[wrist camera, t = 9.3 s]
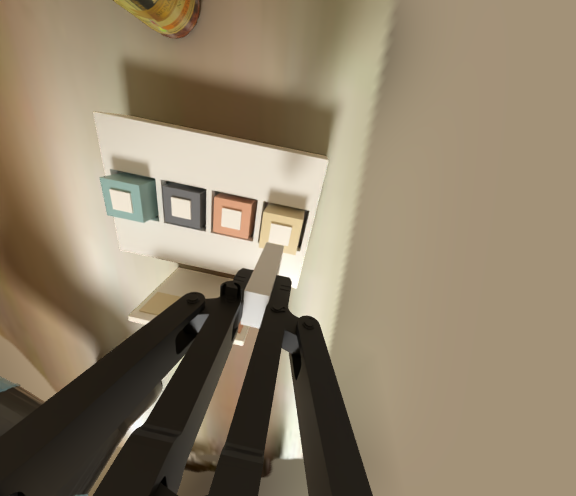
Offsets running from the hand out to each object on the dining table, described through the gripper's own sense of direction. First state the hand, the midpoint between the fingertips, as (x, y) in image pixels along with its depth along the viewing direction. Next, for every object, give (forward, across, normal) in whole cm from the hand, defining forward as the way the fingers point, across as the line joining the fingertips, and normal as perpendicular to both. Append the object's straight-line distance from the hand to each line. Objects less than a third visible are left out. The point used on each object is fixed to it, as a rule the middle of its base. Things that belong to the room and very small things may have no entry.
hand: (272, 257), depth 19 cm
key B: (+11, -6, 0) cm, 12 cm away
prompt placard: (+12, -9, -13) cm, 20 cm away
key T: (+9, 0, 0) cm, 9 cm away
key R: (+9, -18, 0) cm, 20 cm away
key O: (+11, -12, 0) cm, 16 cm away
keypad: (+12, -9, 0) cm, 15 cm away
